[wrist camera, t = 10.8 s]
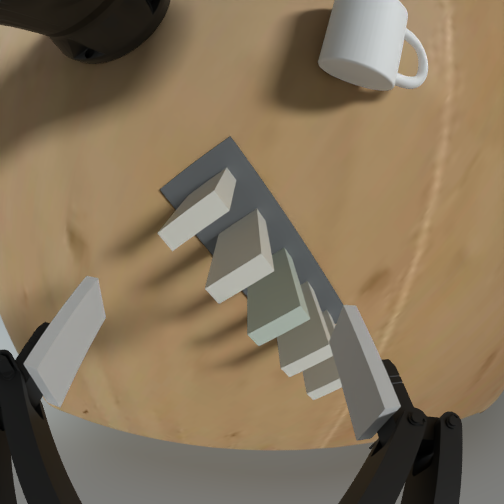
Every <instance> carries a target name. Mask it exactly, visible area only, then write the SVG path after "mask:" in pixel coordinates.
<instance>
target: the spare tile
mask: <svg viewBox="0 0 504 504" xmlns="http://www.w3.org/2000/svg"><path fill="white" fill-rule="evenodd" d="M272 259H273V265H274V271H273V272H272V273H270V274H268V275H267V276H265V277H263V278H262V279H260V280H258V281H257V282H255V283H253V284H252V285H250V286H248V287H247V335H248V336H249V337H250V338H251V339H252V340H253V341H254V342H255V343H256V344H257V345H258V346H260V345H262V344H264V343H266V342H268V341H270V340H272V339H274V338H276V337H278V336H280V335H282V334H284V333H286V332H287V331H289V330H291V329H293V328H295V327H297V326H299V325H301V324H302V323H304V322H306V321H308V320H310V316H309V312H308V309H307V306H306V302H305V299H304V296H303V292H302V289H301V286H300V282H299V279H298V276H297V273H296V269H295V266H294V263H293V260H292V258H291V256H290V255H289V253H288V252H287V250H286V249H285V248H283V249H281V250H279V251H278V252H276V253H275V254H273V255H272Z"/></svg>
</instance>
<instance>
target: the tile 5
mask: <svg viewBox="0 0 504 504" xmlns="http://www.w3.org/2000/svg"><path fill="white" fill-rule="evenodd" d="M322 314H323V317H324V320H325V323H326V326H327V328H328V331H329V334H330V337H331V336H332V333H333V331H334V328H335V324H334V321H333V319H332V317H331V315H330V314H329V312H328V311H327V310H325V311H324V312H322ZM303 376H304V381H305V387H306V392H307V394H308V395H309V396H310V397H311V398H312V399H313V400H315V399H317V398H320V397H322V396H324V395H326V394H328V393H331V392H333V391H335V390H337V389H339V388H341V387H342V384H341V381H340V377H339V374H338V371H337V367H336V364H335V360H334V357H333V356H332V357H330V358H328V359H326V360H324V361H322V362H320V363H318V364H316V365H314V366H312V367H310V368H308V369H306V370H304V371H303Z"/></svg>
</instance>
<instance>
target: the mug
mask: <svg viewBox="0 0 504 504" xmlns="http://www.w3.org/2000/svg"><path fill="white" fill-rule="evenodd" d="M407 19H408V13H407V10H406V8H405V7H404V5H403V4H402V3H401V2H400V1H399V0H335V1H334V4H333V8H332V12H331V16H330V19H329V23H328V27H327V30H326V34H325V38H324V41H323V45H322V49H321V52H320V56H319V60H318V64H319V66H320V68H321V69H323V70H324V71H325V72H327V73H328V74H330V75H332V76H334V77H336V78H338V79H341V80H343V81H346V82H348V83H351V84H354V85H357V86H361V87H364V88H368V89H373V90H380V91H387V90H391V89H393V88H394V85H396V86H398V87H401V88H406V89H414V88H417V87H419V86H420V85H421V84H422V83H423V82H424V81H425V79H426V76H427V73H428V61H427V57H426V53H425V51H424V48H423V46H422V44H421V43H420V41H419V40H418V38H417V37H416V36H415V35H414V34H413V33H412V32H411V31H409V30H408V29H407V28H406V25H407ZM404 40H405V41H407V42H408V43H409V44H410V45H411V46H412V47H413V48H414V49H415V51H416V53H417V55H418V72H417V75H416V76H414V77H409V76H404V75H401V74H399V73H397V72H398V67H399V63H400V58H401V53H402V48H403V42H404Z"/></svg>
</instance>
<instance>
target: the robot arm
mask: <svg viewBox="0 0 504 504" xmlns="http://www.w3.org/2000/svg"><path fill="white" fill-rule="evenodd" d="M169 3H170V0H0V25H5V26H10V27H15V28H19V29H24V30H28V31H32V32H35V33H39V34H43V35H46V36H49V37H50V39H51V40H52V41H53V42H54V43H55V44H56V46H57V47H58V48H59V49H60V50H61V51H62V52H63V53H64V54H65V55H66V56H68V57H69V58H71V59H74V60H77V61H80V62H84V63H89V64H98V63H104V62H108V61H112V60H114V59H117V58H119V57H121V56H123V55H125V54H127V53H129V52H130V51H132V50H134V49H135V48H136V47H138V46H139V45H140V44H142V43H143V42H144V41H145V40H146V39H147V38H148V37H149V36H150V35H151V34H152V33H153V32H154V31H155V30H156V28H157V27H158V26H159V24H160V23H161V21H162V20H163V18H164V16H165V14H166V12H167V10H168V7H169ZM105 318H106V315H105V311H104V306H103V302H102V297H101V292H100V286H99V281H98V278H95V277H89V276H86V277H85V278H84V280H83V281H82V282H81V283H80V285H79V286H78V287H77V288H76V290H75V291H74V292H73V294H72V295H71V296H70V297H69V299H68V300H67V301H66V303H65V304H64V305H63V307H62V308H61V309H60V311H59V312H58V313H57V315H56V316H55V317H54V319H53V320H52V322H51V323H47V322H45V323H43V324H42V325H40V326H39V327H38V328H37V329H36V331H35V332H34V333H33V335H32V336H31V338H30V339H29V340H28V342H27V343H26V345H25V346H24V348H23V349H22V351H21V352H20V354H19V355H18V357H17V358H16V360H14V358H13V356H12V354H11V353H10V352H9V351H7V350H0V504H17V501H16V495H15V489H14V482H13V473H12V463H11V456H12V460H13V463H14V467H15V469H16V473H17V476H18V479H19V482H20V485H21V487H22V490H23V493H24V495H25V498H26V500H27V503H28V504H82V503H81V501H80V499H79V497H78V496H77V493H76V491H75V489H74V487H73V485H72V483H71V481H70V479H69V477H68V475H67V472H66V470H65V468H64V466H63V463H62V461H61V458H60V456H59V453H58V451H57V448H56V445H55V443H54V440H53V437H52V434H51V431H50V428H49V425H48V422H47V418H46V415H45V412H44V408H43V405H42V403H41V401H40V400H41V398H42V396H44V398H45V399H46V401H47V402H48V403H50V404H53V405H55V406H58V407H61V405H62V403H63V400H64V398H65V396H66V394H67V392H68V390H69V387H70V385H71V383H72V381H73V379H74V377H75V375H76V373H77V371H78V369H79V367H80V365H81V363H82V361H83V359H84V357H85V355H86V353H87V351H88V349H89V347H90V345H91V344H92V342H93V340H94V338H95V336H96V334H97V333H98V331H99V329H100V327H101V325H102V323H103V322H104V320H105ZM329 344H330V347H331V350H332V354H333V357H334V360H335V364H336V367H337V371H338V374H339V377H340V381H341V384H342V388H343V391H344V395H345V399H346V402H347V406H348V409H349V413H350V417H351V421H352V424H353V428H354V432H355V436H356V440H363V439H370V438H372V437H373V436H374V435H375V434H376V433H378V436H379V439H377V440H376V441H375V442H374V443H373V444H372V445H371V446H370V448H369V449H372V450H371V452H370V454H369V456H368V458H367V459H366V461H365V463H364V464H363V466H362V468H361V469H360V471H359V473H358V474H357V476H356V478H355V479H354V481H353V482H352V484H351V486H350V487H349V489H348V490H347V492H346V493H345V495H344V496H343V498H342V499H341V501H340V502H339V503H338V504H395V502H396V500H397V498H398V496H399V494H400V492H401V490H402V488H403V486H404V483H405V487H404V491H403V496H402V501H401V504H459V497H460V488H461V474H462V423H461V419H460V418H459V416H458V415H457V414H455V413H453V412H446V413H444V414H443V415H442V416H441V417H440V418H437V417H427V416H426V415H425V414H424V412H423V411H421V410H420V409H417V408H414V407H413V405H412V402H411V400H410V398H409V395H408V393H407V391H406V388H405V386H404V384H403V383H402V379H401V377H399V373H398V371H397V369H396V367H395V365H394V364H393V363H392V362H391V361H390V360H389V359H386V360H381V358H380V356H379V353H378V351H377V349H376V347H375V345H374V342H373V340H372V338H371V336H370V334H369V332H368V329H367V327H366V325H365V323H364V321H363V319H362V317H361V315H360V313H359V311H358V309H357V307H356V306H352V305H343V308H342V310H341V313H340V315H339V318H338V321H337V323H336V326H335V328H334V331H333V333H332V336H331V338H330V340H329ZM405 481H406V482H405Z"/></svg>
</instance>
